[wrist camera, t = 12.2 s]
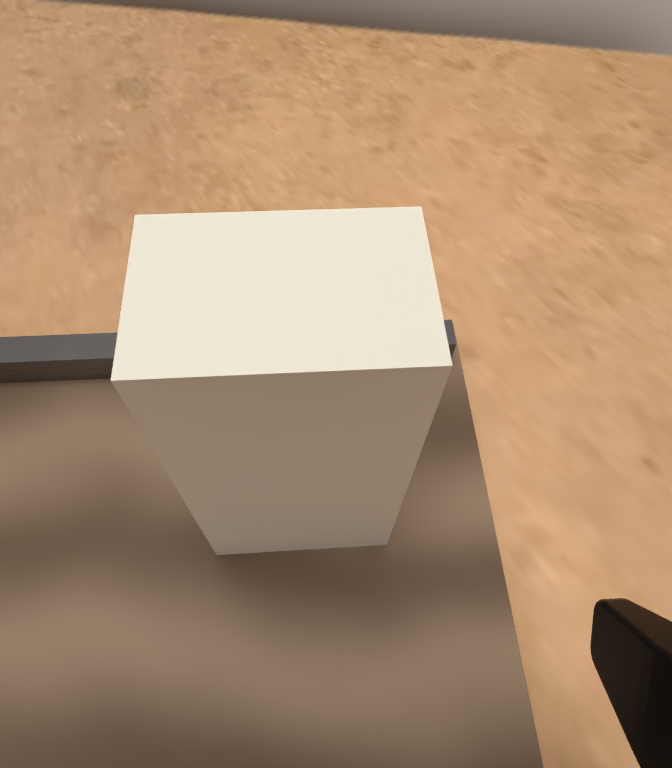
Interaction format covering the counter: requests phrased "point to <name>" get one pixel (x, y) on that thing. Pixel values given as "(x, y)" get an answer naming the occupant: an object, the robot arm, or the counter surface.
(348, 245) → the cream box
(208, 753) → the shelf board
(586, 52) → the counter surface
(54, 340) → the price rail
